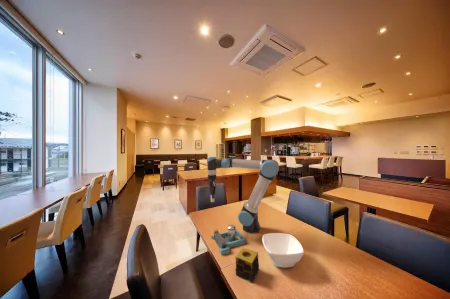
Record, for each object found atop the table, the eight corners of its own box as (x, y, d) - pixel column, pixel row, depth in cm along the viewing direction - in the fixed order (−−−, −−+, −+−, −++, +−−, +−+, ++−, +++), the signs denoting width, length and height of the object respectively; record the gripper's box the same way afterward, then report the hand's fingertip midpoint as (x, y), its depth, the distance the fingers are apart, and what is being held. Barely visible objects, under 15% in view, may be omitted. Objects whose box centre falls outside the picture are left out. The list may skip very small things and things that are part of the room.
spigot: (229, 236, 121) (228, 224, 121) (236, 238, 119) (236, 225, 119) (226, 241, 116) (226, 227, 116) (234, 242, 113) (233, 229, 113)
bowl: (260, 250, 104) (259, 232, 105) (293, 250, 104) (292, 232, 104) (268, 276, 82) (267, 254, 82) (310, 276, 82) (309, 254, 82)
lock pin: (217, 238, 120) (217, 229, 120) (225, 250, 105) (225, 240, 105) (213, 238, 119) (213, 230, 119) (221, 251, 103) (221, 241, 104)
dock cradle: (235, 231, 129) (234, 228, 129) (249, 246, 109) (249, 242, 109) (210, 237, 121) (210, 233, 121) (221, 255, 100) (221, 250, 100)
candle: (252, 283, 78) (252, 263, 79) (235, 275, 84) (234, 256, 84) (259, 270, 87) (258, 252, 87) (243, 263, 92) (242, 246, 93)
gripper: (205, 173, 138) (206, 200, 138) (210, 175, 126) (210, 204, 126) (213, 173, 141) (214, 199, 141) (218, 175, 129) (219, 203, 129)
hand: (212, 201), depth 133 cm, fingers closed
